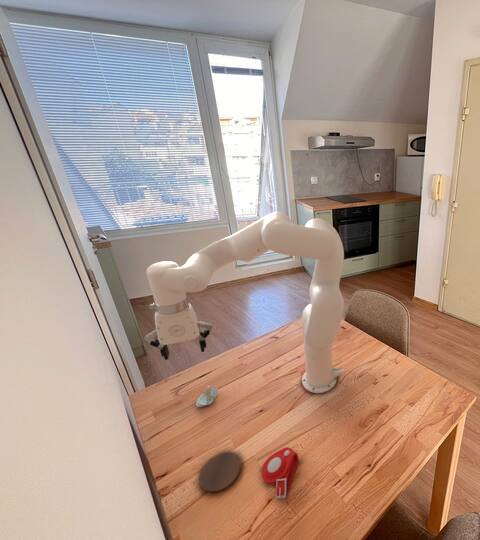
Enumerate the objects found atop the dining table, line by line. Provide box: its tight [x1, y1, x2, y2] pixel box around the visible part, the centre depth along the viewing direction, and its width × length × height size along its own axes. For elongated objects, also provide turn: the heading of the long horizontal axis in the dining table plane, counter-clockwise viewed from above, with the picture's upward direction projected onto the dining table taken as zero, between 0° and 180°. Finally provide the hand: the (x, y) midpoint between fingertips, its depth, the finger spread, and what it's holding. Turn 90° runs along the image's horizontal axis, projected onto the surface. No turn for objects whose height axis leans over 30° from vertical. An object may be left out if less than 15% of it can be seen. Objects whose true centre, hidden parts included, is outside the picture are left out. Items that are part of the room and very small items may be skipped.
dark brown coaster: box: [198, 451, 242, 494], centre depth 78 cm, size 10×10×1 cm
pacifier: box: [195, 385, 219, 408], centre depth 97 cm, size 7×6×6 cm
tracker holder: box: [261, 446, 300, 499], centre depth 77 cm, size 12×4×10 cm
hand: (185, 352), depth 89 cm, fingers open, 9 cm apart
